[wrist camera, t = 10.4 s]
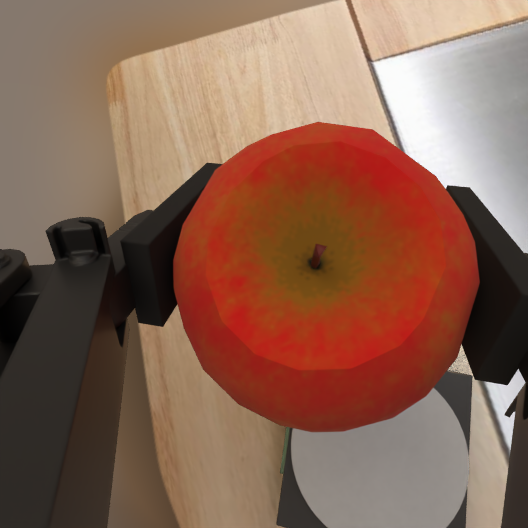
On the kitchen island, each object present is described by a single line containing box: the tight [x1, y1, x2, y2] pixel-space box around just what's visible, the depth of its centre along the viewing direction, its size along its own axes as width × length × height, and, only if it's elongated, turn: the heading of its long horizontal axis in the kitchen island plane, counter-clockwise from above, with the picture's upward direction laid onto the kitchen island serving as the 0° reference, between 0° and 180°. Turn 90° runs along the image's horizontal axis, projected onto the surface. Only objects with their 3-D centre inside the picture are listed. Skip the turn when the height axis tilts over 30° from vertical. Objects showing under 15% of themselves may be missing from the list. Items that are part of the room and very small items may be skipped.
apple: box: [173, 122, 480, 432], centre depth 12 cm, size 9×8×11 cm
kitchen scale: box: [277, 371, 472, 528], centre depth 25 cm, size 12×12×3 cm
